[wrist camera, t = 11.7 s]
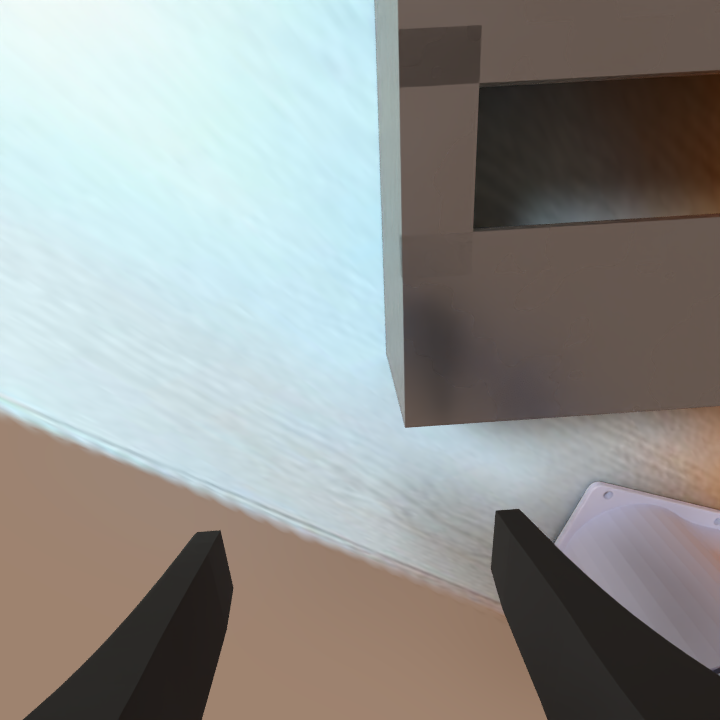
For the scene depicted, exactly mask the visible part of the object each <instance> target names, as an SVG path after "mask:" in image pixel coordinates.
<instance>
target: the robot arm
mask: <svg viewBox="0 0 720 720" xmlns="http://www.w3.org/2000/svg"><path fill="white" fill-rule="evenodd" d="M605 492H607V493H606V494H604V493H605ZM491 570H492V574H493V578H494V581H495V585H496V588H497V592H498V595H499V598H500V602H501V605H502V608H503V611H504V613H505V616H506V618H507V621H508V623H509V626H510V628H511V630H512V633H513V636H514V638H515V640H516V643H517V645H518V647H519V650H520V653H521V655H522V657H523V659H524V662H525V664H526V667H527V669H528V672H529V674H530V677H531V679H532V681H533V684H534V686H535V689H536V691H537V693H538V696H539V698H540V701H541V703H542V706H543V709H544V711H545V714H546V717H547V719H548V720H720V510H716V509H712V508H708V507H704V506H700V505H696V504H691V503H687V502H683V501H679V500H675V499H671V498H667V497H662V496H658V495H654V494H650V493H646V492H642V491H638V490H633V489H629V488H625V487H621V486H617V485H613V484H609V483H604V482H598V481H597V482H594V483H592V484H591V485H590V486H589V487H588V488H587V490H586V492H585V493H584V495H583V497H582V498H581V500H580V502H579V503H578V505H577V507H576V508H575V510H574V512H573V513H572V515H571V517H570V518H569V520H568V522H567V523H566V525H565V527H564V528H563V530H562V532H561V533H560V535H559V537H558V538H557V540H556V542H555V543H553V542H552V541H550V540H549V539H548V538H547V537H546V536H545V535H544V534H543V533H542V532H541V531H540V530H539V529H538V527H537V526H536V525H535V524H534V523H533V522H532V521H531V520H530V519H529V518H528V517H527V516H526V515H525V514H524V513H523V512H522V511H520V510H519V509H512V510H498V511H496V514H495V526H494V538H493V550H492V562H491ZM232 593H233V584H232V580H231V575H230V571H229V566H228V562H227V557H226V553H225V548H224V544H223V540H222V535H221V531H207V532H197V533H196V534H195V535H194V536H193V537H192V538H191V540H190V541H189V542H188V544H187V545H186V546H185V547H184V549H183V550H182V551H181V553H180V554H179V555H178V556H177V558H176V559H175V560H174V562H173V563H172V564H171V565H170V567H169V568H168V569H167V570H166V572H165V573H164V574H163V576H162V577H161V578H160V579H159V580H158V581H157V583H156V584H155V585H154V586H153V587H152V589H151V590H150V591H149V592H148V594H147V595H146V596H145V597H144V599H143V600H142V601H141V602H140V603H139V604H138V605H137V607H136V608H135V609H134V610H133V611H132V612H131V614H130V615H129V616H128V617H127V618H126V619H125V620H124V621H123V623H121V625H120V626H119V627H118V628H117V629H116V630H115V631H114V632H113V634H112V635H111V636H110V637H109V638H108V639H107V640H106V641H105V642H104V643H103V644H102V645H101V646H100V648H99V649H98V650H97V651H96V652H95V653H94V654H93V655H92V656H91V657H90V658H89V659H88V660H87V661H86V662H85V663H84V664H83V665H82V666H81V667H80V668H79V669H78V670H77V671H76V672H75V673H74V674H73V675H72V676H71V677H70V678H69V679H68V680H67V681H65V683H63V684H62V685H61V686H60V687H59V688H58V689H57V690H56V691H55V692H54V693H53V694H51V696H49V697H48V698H47V699H46V700H45V701H44V702H42V703H41V704H40V705H39V706H38V707H37V708H36V709H35V710H34V711H32V712H31V713H30V714H29V715H28V716H27V717H25V718H24V719H23V720H202V717H203V713H204V709H205V706H206V702H207V699H208V695H209V692H210V688H211V684H212V681H213V677H214V673H215V670H216V667H217V663H218V659H219V655H220V651H221V648H222V645H223V641H224V637H225V633H226V630H227V624H228V618H229V612H230V605H231V599H232Z"/></svg>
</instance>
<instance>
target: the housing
mask: <svg viewBox="0 0 720 720" xmlns="http://www.w3.org/2000/svg"><path fill="white" fill-rule="evenodd" d="M374 2H375V31H376V61H377V91H378V121H379V151H380V181H381V211H382V241H383V271H384V300H385V330H386V355H387V359H388V363H389V366H390V370H391V374H392V378H393V382H394V386H395V390H396V394H397V398H398V402H399V406H400V410H401V414H402V417H403V421H404V425H405V428H407V427H422V426H436V425H451V424H465V423H480V422H494V421H509V420H523V419H538V418H552V417H566V416H581V415H595V414H610V413H624V412H639V411H653V410H668V409H682V408H697V407H711V406H720V213H719V214H702V215H686V216H670V217H653V218H637V219H621V220H604V221H588V222H571V223H555V224H539V225H522V226H506V227H490V228H473V221H474V197H475V174H476V150H477V127H478V103H479V87H493V86H511V85H529V84H548V83H566V82H584V81H602V80H620V79H638V78H656V77H674V76H692V75H710V74H720V0H374Z"/></svg>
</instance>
